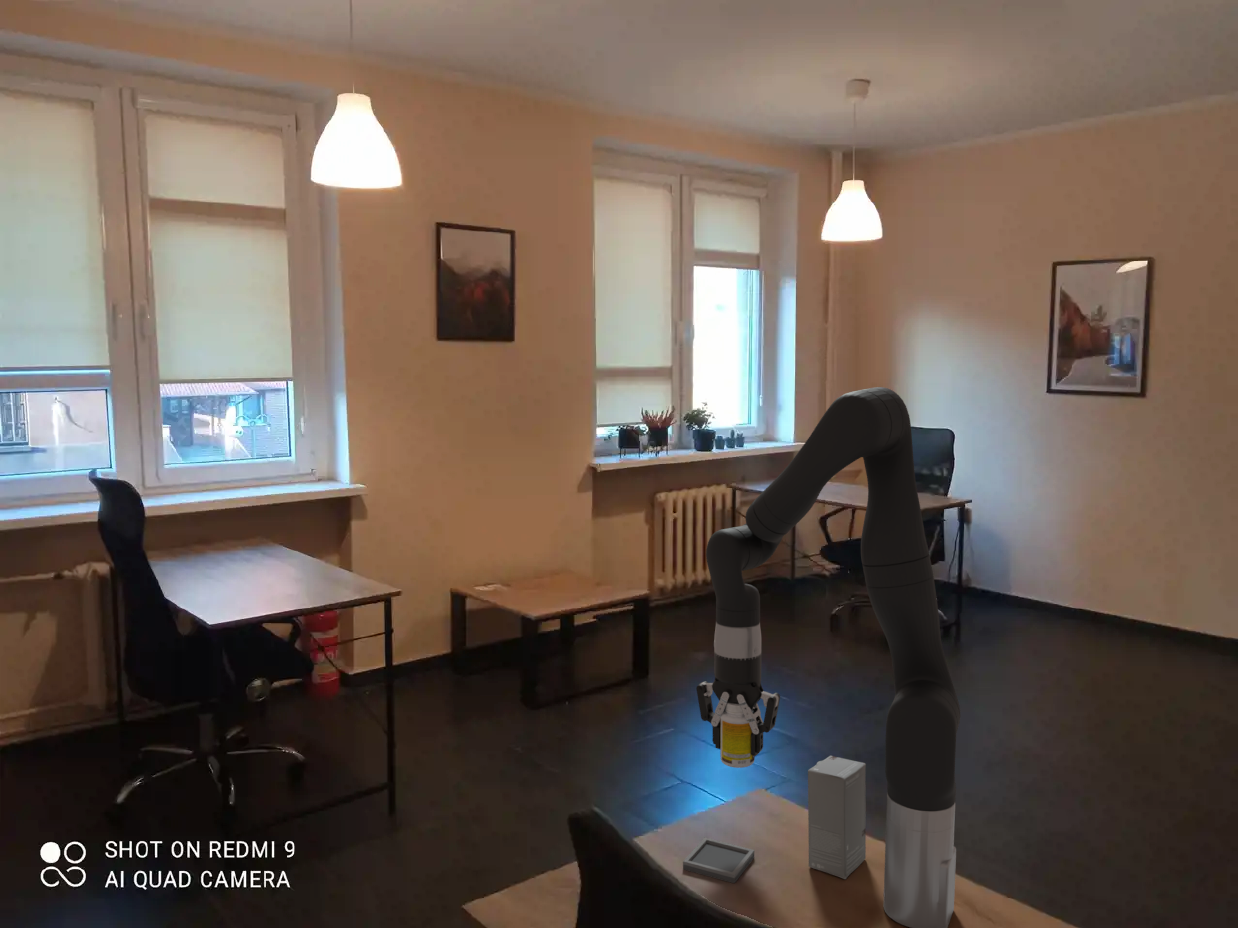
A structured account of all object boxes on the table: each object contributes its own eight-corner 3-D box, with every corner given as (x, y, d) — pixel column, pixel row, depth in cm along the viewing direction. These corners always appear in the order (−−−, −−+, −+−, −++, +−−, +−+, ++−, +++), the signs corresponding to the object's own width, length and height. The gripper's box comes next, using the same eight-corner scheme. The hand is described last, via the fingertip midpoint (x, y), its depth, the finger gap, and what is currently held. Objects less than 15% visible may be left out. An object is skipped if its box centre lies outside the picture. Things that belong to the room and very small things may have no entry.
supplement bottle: (758, 768, 156) (758, 706, 155) (724, 770, 155) (724, 708, 154) (750, 754, 161) (750, 694, 160) (717, 755, 161) (717, 696, 160)
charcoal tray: (754, 857, 154) (754, 849, 154) (734, 883, 146) (734, 874, 146) (704, 844, 158) (704, 837, 158) (683, 869, 150) (683, 861, 150)
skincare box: (845, 881, 147) (848, 781, 145) (802, 866, 151) (805, 768, 149) (868, 858, 154) (871, 762, 152) (826, 844, 158) (828, 751, 156)
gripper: (788, 649, 156) (787, 750, 158) (706, 637, 163) (706, 734, 165) (772, 662, 150) (771, 767, 151) (687, 649, 157) (687, 750, 158)
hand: (737, 749), depth 158 cm, fingers closed on supplement bottle, 5 cm apart
